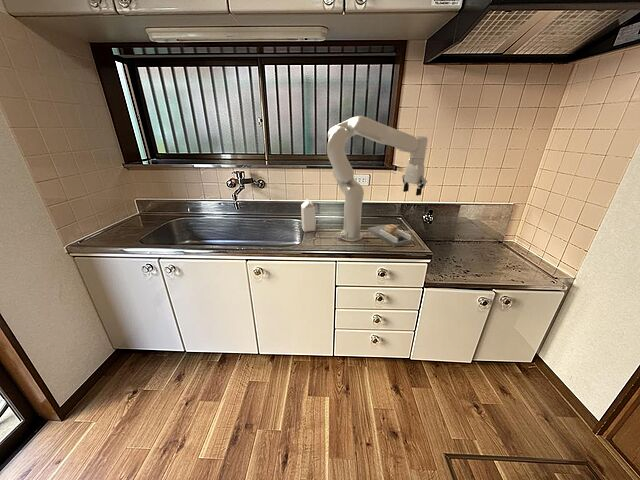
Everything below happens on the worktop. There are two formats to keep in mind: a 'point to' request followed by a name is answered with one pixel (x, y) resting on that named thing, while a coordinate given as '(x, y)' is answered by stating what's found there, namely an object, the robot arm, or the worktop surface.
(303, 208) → the milk carton
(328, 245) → the worktop surface
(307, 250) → the worktop surface
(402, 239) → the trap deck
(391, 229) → the maple block
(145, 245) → the worktop surface
